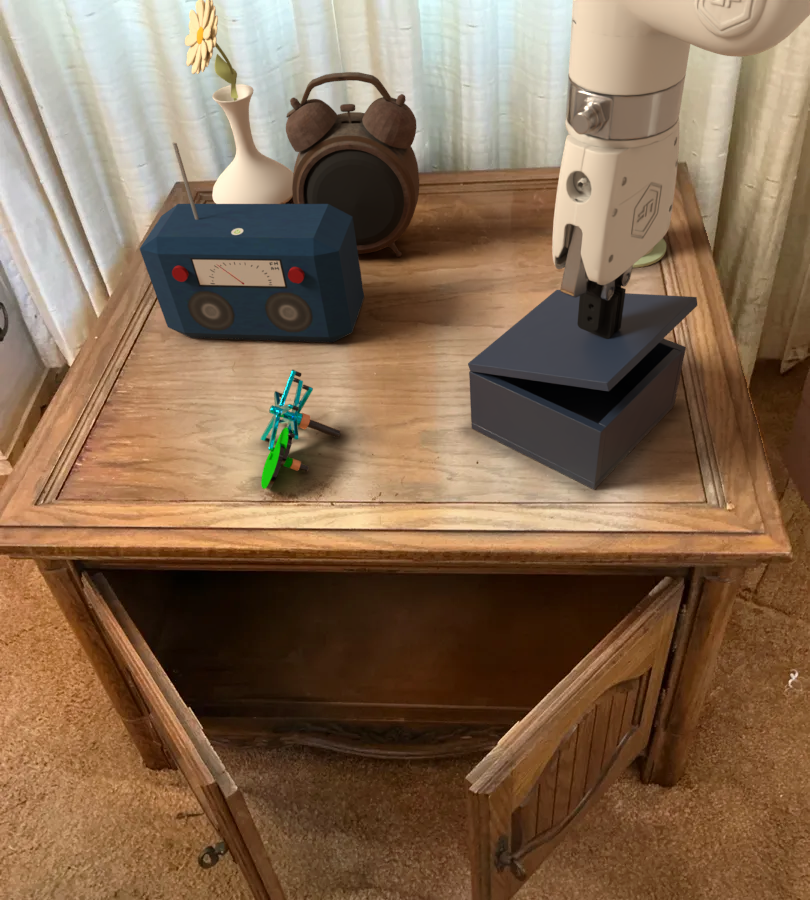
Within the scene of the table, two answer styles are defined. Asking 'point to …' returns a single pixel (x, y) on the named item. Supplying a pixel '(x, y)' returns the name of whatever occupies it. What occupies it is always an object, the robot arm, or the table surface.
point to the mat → (652, 255)
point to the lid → (581, 342)
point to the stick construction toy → (288, 430)
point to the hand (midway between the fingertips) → (598, 328)
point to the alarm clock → (357, 161)
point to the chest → (578, 415)
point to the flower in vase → (235, 123)
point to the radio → (255, 270)
